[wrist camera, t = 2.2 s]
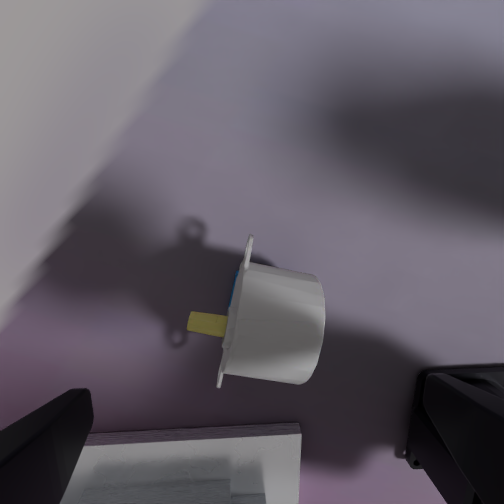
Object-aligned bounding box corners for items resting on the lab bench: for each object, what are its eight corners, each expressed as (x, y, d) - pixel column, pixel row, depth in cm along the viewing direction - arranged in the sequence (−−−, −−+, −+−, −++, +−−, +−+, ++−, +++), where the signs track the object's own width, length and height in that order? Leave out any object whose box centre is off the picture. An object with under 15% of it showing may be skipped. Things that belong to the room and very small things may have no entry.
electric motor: (213, 219, 13) (202, 235, 9) (307, 239, 14) (347, 265, 9) (189, 346, 15) (167, 422, 10) (275, 360, 15) (296, 438, 10)
